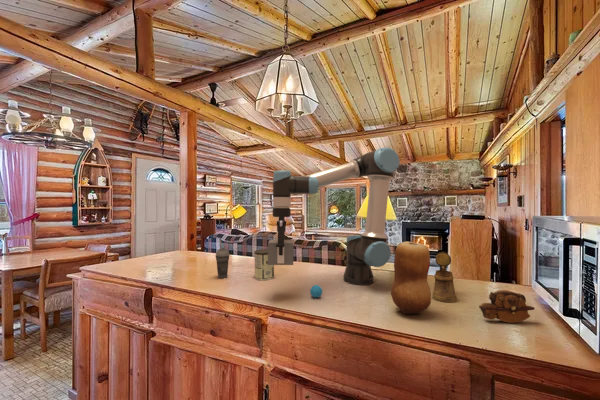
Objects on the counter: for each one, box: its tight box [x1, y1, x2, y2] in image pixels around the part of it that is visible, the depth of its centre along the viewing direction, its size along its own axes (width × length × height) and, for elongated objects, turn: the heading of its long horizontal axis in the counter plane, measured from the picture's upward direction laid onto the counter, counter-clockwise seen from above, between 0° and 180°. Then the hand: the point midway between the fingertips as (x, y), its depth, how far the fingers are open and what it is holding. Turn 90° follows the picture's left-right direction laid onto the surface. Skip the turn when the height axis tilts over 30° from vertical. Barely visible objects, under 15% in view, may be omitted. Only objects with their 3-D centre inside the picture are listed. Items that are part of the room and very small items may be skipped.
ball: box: [310, 284, 323, 299], centre depth 118 cm, size 5×5×5 cm
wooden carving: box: [478, 289, 536, 324], centre depth 93 cm, size 16×5×10 cm, turn 90°
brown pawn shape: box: [431, 251, 458, 303], centre depth 118 cm, size 9×14×18 cm, turn 155°
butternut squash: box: [390, 240, 432, 315], centre depth 102 cm, size 14×13×25 cm
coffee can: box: [253, 249, 275, 281], centre depth 150 cm, size 10×10×14 cm
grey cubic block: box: [267, 239, 295, 266], centre depth 119 cm, size 10×10×9 cm
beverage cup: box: [215, 239, 231, 280], centre depth 150 cm, size 7×7×20 cm
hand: (281, 260), depth 119 cm, fingers closed on grey cubic block, 10 cm apart
